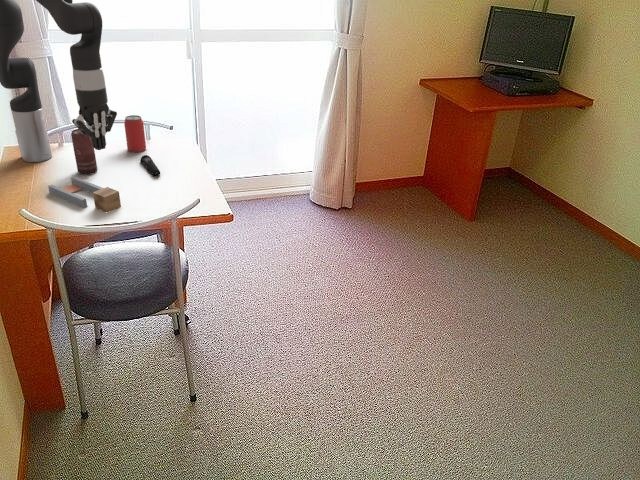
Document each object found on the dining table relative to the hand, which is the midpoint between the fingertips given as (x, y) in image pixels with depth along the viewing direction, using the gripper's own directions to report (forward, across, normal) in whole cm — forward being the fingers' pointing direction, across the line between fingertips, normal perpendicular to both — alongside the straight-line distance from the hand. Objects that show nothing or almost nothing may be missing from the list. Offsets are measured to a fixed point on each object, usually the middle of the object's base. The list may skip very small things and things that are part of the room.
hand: (100, 148), depth 150 cm
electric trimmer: (+18, +27, +12) cm, 35 cm away
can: (+17, +12, +25) cm, 33 cm away
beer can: (+17, +36, +29) cm, 50 cm away
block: (+18, -1, 0) cm, 18 cm away
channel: (+18, -1, +12) cm, 22 cm away
